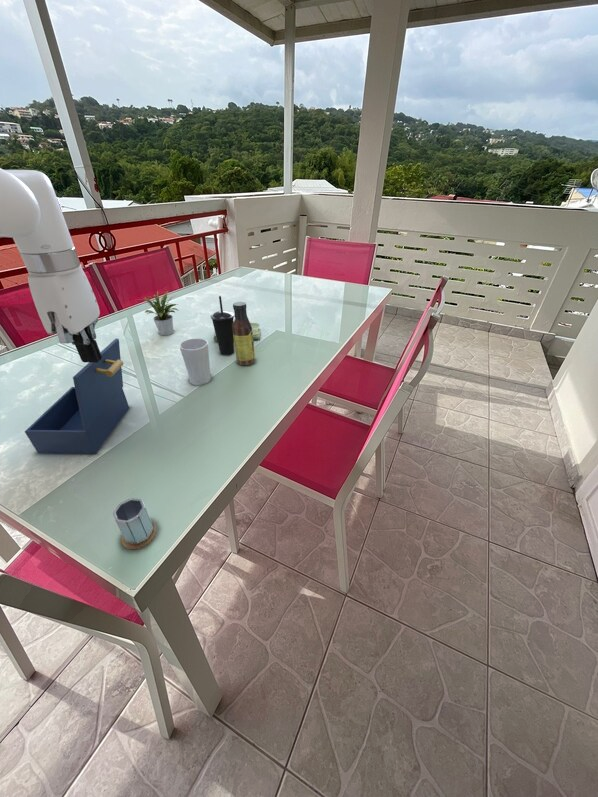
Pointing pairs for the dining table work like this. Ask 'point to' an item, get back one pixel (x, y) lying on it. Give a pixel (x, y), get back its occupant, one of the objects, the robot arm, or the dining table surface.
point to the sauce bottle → (243, 335)
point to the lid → (98, 384)
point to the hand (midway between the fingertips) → (92, 360)
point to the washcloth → (254, 329)
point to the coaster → (134, 547)
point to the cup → (196, 360)
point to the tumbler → (133, 521)
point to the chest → (74, 426)
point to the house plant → (162, 314)
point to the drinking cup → (224, 330)
